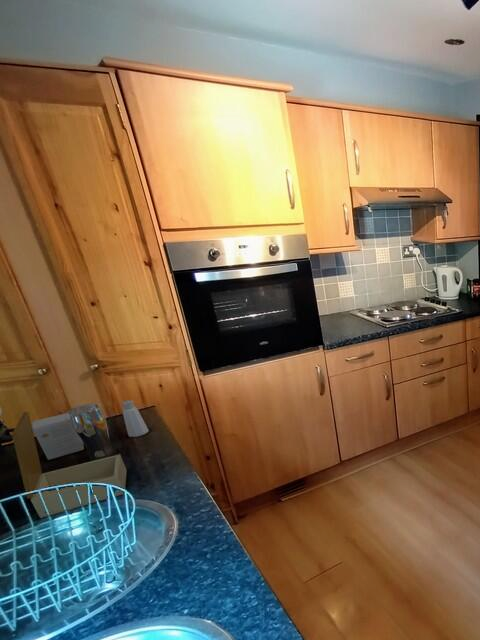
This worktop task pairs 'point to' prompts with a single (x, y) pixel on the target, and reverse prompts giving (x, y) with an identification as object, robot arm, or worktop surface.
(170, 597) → the worktop surface
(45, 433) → the small box
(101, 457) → the beer glass
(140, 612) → the worktop surface
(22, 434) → the cover
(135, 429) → the pepper shaker
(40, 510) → the open cream tray
